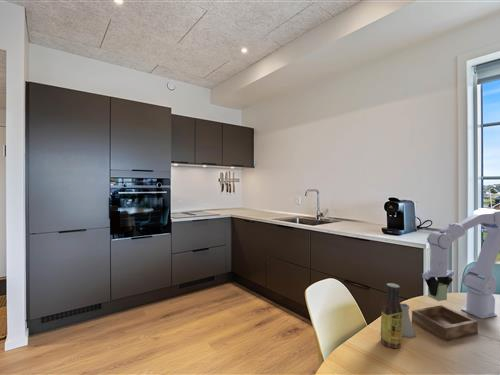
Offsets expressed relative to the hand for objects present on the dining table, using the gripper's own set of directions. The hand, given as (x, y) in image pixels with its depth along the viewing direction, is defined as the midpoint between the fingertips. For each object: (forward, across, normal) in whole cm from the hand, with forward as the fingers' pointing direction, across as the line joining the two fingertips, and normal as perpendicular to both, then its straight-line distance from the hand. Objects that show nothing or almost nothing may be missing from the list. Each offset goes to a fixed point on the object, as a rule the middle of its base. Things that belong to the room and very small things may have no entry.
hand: (437, 294), depth 107 cm
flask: (+9, +24, +6) cm, 26 cm away
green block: (+2, 0, 0) cm, 2 cm away
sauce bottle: (+9, +34, +10) cm, 36 cm away
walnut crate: (+8, +7, +8) cm, 13 cm away
